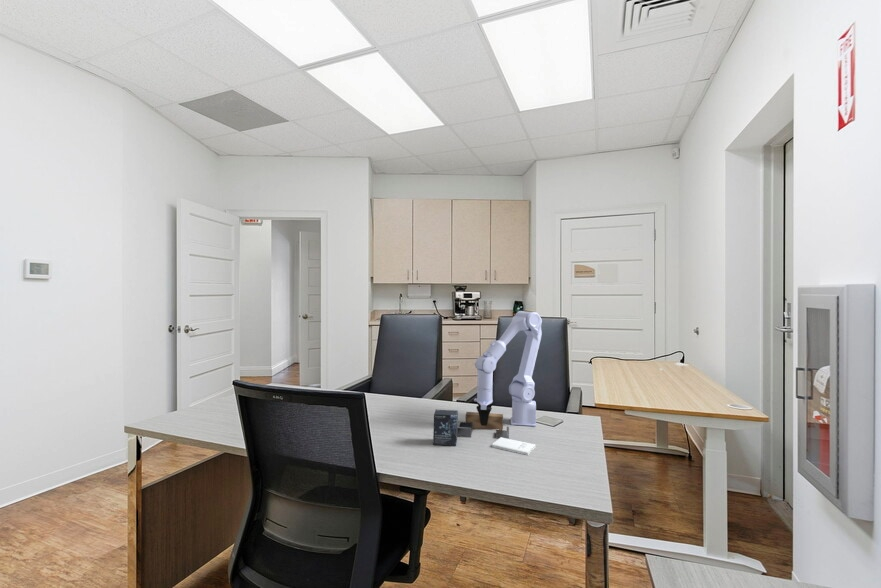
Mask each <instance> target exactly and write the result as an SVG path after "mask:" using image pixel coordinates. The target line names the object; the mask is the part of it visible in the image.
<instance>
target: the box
mask: <svg viewBox="0 0 881 588" xmlns="http://www.w3.org/2000/svg"><path fill="white" fill-rule="evenodd" d="M458 415H459V411H458V410H454V409H453V410H450V409H447V410H446V409H435V410H434V414H433V431H432V433H433V439H432V440H433V442H432V445H434V446H450V447H451V446H452V447H456V446H457V443H458V436H457V427H458V421H459V420H458V419H459V417H458Z"/></svg>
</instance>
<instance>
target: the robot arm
mask: <svg viewBox="0 0 881 588" xmlns="http://www.w3.org/2000/svg"><path fill="white" fill-rule="evenodd" d="M542 322H543V319H542V318H541V316H540V314H539V313H538V312H536V311H523V310H519V311H517V312H516V314H515V315H514V316H512V319H511V321H510V324H509V325H508V326H507V328H506V329H505V331H504V332H503V333H502V334H501V336H500V337H499V339H498V340H493V341H491V343H490V344H489V345H490V346H488V348H487V350H485V352H483V353H482V355H481V356H478V357H477V358H476V362H475V363H474V366H475V368H476V370H477V371H476V372H477V373H476V374H477V389H476V390H477V391H476V393H477V394H476V397H475V398H474V399H473V401H474V402H477V405H476V411H477V413H479V416H480V422H481V425H483V426H487V422H488V417H489V413H491V411H492V409H493V408H492V407H493V402H494V400H493V384H494V383H493V382H494V381H493V379H494V378H493V375H494V373H493V372H494V371H495V370H496V369H497V363H498V361H499V360H500V358H501V357H503V355H504V354H505V352H507V345H508V344H509V343H510V342H511V341H512V340H513V338H514V337H515V336H516V335H517V334H518V333H519V332H521V331H523V332H524V333H525V335H526V339H525V344H524V348H523V352H522V355H521V360H520V364H519V368H518V369H519V370H518V372H517V374H516V375H515V376H514V377H513V378H512V381H511V383H510V384H509V387H508V393H509V394H510V395H511V399H512V400H511V404H512V405H511V417H510V424H511V425H513V426H514V425H515V426H528V427H536V423H537V403H536V401H535V400H533V399H534V397H535V396H536V395H535V394H536V391H535V386H536V385H535V384H536V383H535V381H534V380H533V374H534V370H535V364H536V361H537V356H538V351H539V349H540V344H541V340H542V334H543V331H542V324H543V323H542Z"/></svg>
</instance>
